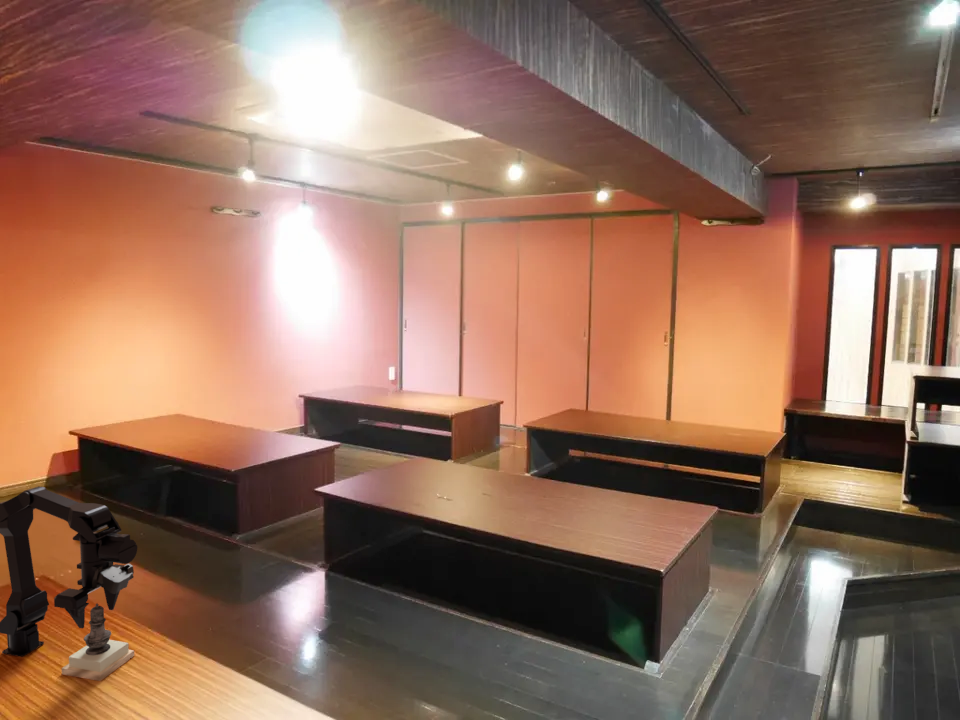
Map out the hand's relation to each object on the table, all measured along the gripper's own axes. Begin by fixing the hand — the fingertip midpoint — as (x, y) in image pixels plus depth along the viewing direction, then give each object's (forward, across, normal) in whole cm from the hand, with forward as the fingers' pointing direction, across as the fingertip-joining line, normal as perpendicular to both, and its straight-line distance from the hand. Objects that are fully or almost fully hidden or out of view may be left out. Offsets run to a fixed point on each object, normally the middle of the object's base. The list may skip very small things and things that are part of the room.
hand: (96, 618), depth 157 cm
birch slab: (+13, 0, 0) cm, 13 cm away
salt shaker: (+8, 0, 0) cm, 8 cm away
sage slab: (+11, 0, 0) cm, 11 cm away
